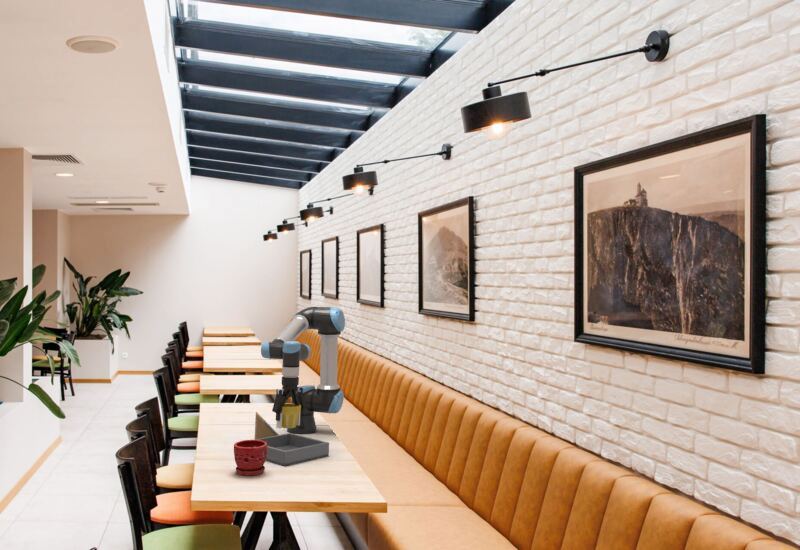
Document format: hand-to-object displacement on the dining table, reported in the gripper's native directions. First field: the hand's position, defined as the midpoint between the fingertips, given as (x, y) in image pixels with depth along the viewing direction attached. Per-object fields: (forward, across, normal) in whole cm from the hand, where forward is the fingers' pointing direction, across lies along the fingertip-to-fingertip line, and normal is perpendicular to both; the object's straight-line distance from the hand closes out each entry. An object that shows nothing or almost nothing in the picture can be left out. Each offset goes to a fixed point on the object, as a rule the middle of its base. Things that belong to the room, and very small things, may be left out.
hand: (288, 426), depth 318 cm
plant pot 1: (+13, +30, +11) cm, 35 cm away
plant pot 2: (0, 0, 0) cm, 0 cm away
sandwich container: (+13, -9, -21) cm, 26 cm away
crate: (+13, 0, 0) cm, 13 cm away
